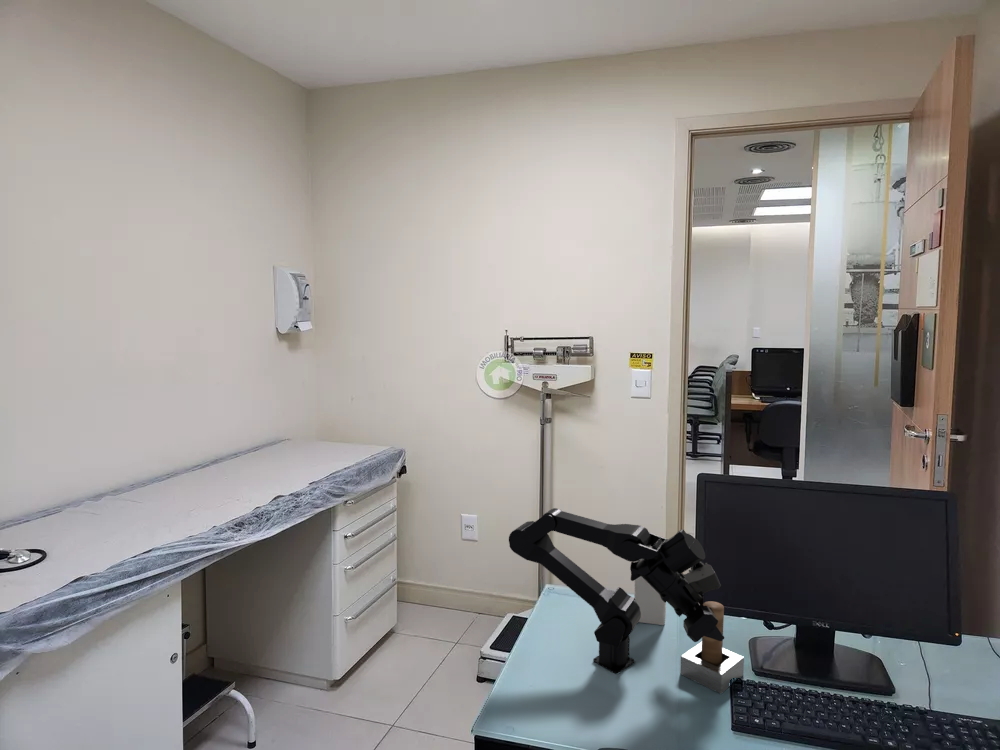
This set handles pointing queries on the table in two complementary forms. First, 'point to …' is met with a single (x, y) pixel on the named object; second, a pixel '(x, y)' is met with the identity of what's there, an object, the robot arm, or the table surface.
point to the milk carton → (649, 603)
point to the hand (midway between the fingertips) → (719, 633)
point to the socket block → (712, 668)
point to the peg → (712, 646)
